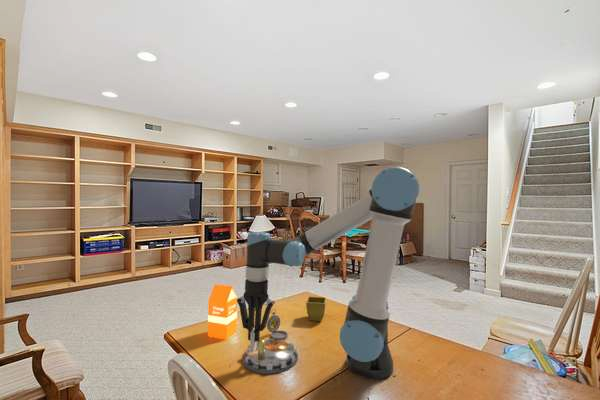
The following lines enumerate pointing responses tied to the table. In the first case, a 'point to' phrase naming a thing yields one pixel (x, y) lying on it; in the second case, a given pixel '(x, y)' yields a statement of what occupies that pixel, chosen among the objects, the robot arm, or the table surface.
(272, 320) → the pocket watch
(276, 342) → the sprocket
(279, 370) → the base plate
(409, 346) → the table surface
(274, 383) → the table surface
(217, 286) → the orange juice
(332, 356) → the table surface
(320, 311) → the flower pot
